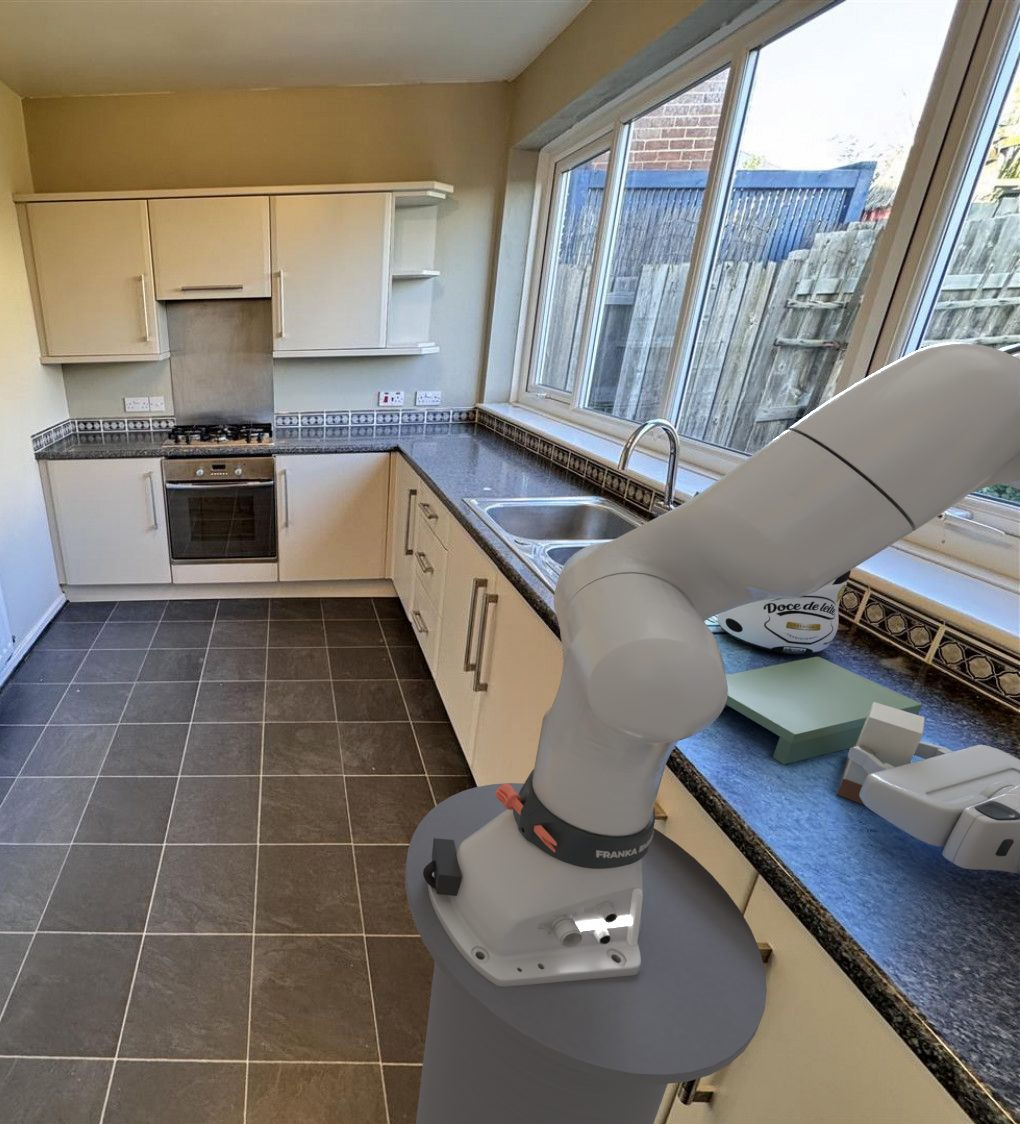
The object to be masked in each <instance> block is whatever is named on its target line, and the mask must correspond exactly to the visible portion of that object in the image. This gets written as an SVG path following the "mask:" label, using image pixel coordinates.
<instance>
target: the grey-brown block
mask: <svg viewBox="0 0 1020 1124" xmlns="http://www.w3.org/2000/svg"><path fill="white" fill-rule="evenodd" d="M925 721H926V717H925V716H922V715H919V714H918V715H915V714H912V713H909V712H906V711H902V710H899V709H896V708H892V707H889V706H886V705H882V704H879V703H876V702H873V704H872V706H871V709H870V711H869V714H868V716H867V719H866V721H865V724H864V726H863V728H862V731H861V733H860V736H859V738H858V741H857V743H856V744H853V745H852V747H855V746H860V745H863V746H865V747H866V748H868V749H871V750H872V751H874V752H876V755H875V757H876V758H877V759H878V760H879V761H880V762H882V763H883V764H884V763H888V764H890V765H892V766H894V767H898V766H902V765H906V764H909V763H912V760H913V758H914V756H915V755H914V753H915V751H916V749H917V746H918V744H919V742H920V741H921V739H922V738H923V736H924V729H925ZM852 747H851V748H852ZM842 771H843V772H842V775H841V778H840V781H839V784H838V789H837V792H836V795H837V796H840V797H843V798H845V799H847V800H849V801H853V802H855V803H857V804H861V805H863V806H865V807H867V806H866V805H865V804H864V803H863V801H862V800H861V798H860V796H859V794H860V791H861V788H862V785H863V783H864V781H865V779H866V777H867V776H868V774H867V772H866V771H865V770H864V769H863V768H862V766H860V765H859V764H857V763H855V762H853V761H852V760H850V759H849V758H848V756H847V758H846V761H845V765H844V767H843V770H842Z"/></svg>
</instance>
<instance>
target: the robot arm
mask: <svg viewBox="0 0 1020 1124" xmlns="http://www.w3.org/2000/svg"><path fill="white" fill-rule="evenodd" d="M1000 484H1006V485H1007V486H1009V487H1011V488H1014V489H1016V490H1018V491H1020V342H1017V343H1014V344H1011V345H1006V346H1003V347H1000V348H994V347H991V346H987V345H983V344H977V343H971V342H958V341H956V342H955V341H954V342H942V343H938V344H932V345H928V346H925V347H922V348H920V349H917V350H915V351H912V352H911V353H909V354H907V355H905V356H903V357H901V358H899V359H898V360H896V361H893V362H892V363H890V364H888V365H886V366H884V367H882V368H880V369H879V370H877V371H875V372H873V373H872V374H870V375H868V376H866V377H865V378H863V379H861V380H859V381H857V382H856V383H854V384H853V385H851V386H849V387H848V388H846V389H845V390H843V391H841V392H840V393H838V394H837V395H835V396H833V397H832V398H830V399H829V400H827V401H825V402H823V404H821V405H820V406H818V407H816V408H815V409H814V410H812V411H810V412H809V413H808V414H806V415H805V416H803V417H802V418H801V419H799V420H798V421H797V422H795V423H793V425H791V426H790V427H788V428H787V429H786V430H784V431H783V432H782V433H780V434H779V435H778V436H776V437H775V438H773V439H772V440H771V441H769V442H768V443H767V444H766V445H764V446H763V447H762V448H760V449H759V450H757V451H756V452H755V453H753V454H752V455H750V456H749V457H747V459H745V460H744V461H742V462H741V463H740V464H739V465H737V466H736V467H734V468H733V469H731V470H730V471H729V472H727V473H726V474H725V475H723V476H722V477H720V478H719V479H717V481H715V482H714V483H712V484H711V485H710V486H708V487H706V488H705V489H704V490H702V491H701V492H700V493H698V494H696V495H695V496H693V497H692V498H690V499H688V500H687V501H685V502H683V503H682V504H679V505H677V506H676V507H674V508H673V509H671V510H669V511H667V512H665V513H663V514H661V515H659V516H657V517H655V518H653V519H651V520H649V521H647V522H645V523H643V524H642V525H640V526H637V527H636V528H633V529H632V530H629V531H628V532H626V533H624V534H622V535H620V536H618V537H616V538H615V539H612V540H609V541H605V542H597V543H593V544H591V545H588V546H585V547H583V548H580V549H579V550H577V551H576V552H575V553H573V554H572V555H571V556H570V557H569V558H568V559H567V560H566V561H565V563H564V565H562V568H561V570H560V572H559V575H558V577H557V578H558V579H557V581H556V585H555V590H554V595H553V607H554V613H555V616H556V619H557V623H558V627H559V632H560V633H559V635H560V640H561V649H562V668H561V669H562V671H561V676H560V681H559V685H558V688H557V691H556V694H555V696H554V699H553V702H552V704H551V707H549V708H548V709H547V710H546V711H545V712H544V714H543V717H542V721H541V728H540V733H539V739H538V744H537V750H536V755H535V761H534V768H533V769H532V770H531V771H530V773H529V775H528V777H526V780H525V781H524V785H523V787H522V788H521V790H520V792H519V794H517V793H516V792H515V790H514V789H513V787H512V786H511V785H510V784H504V783H502V784H503V785H501V786H500V787H499V788H498V789H497V790H496V791H497V792H496V793H495V794H496V797H497V798H498V799H499V800H500V801H501V802H502V803H503V804H504V806H505V808H506V809H507V810H505V811H504V812H502V813H501V814H499V815H498V816H497V817H495V818H494V819H493V820H491V821H490V822H488V823H487V824H486V825H484V826H483V827H482V828H480V829H479V830H478V831H476V832H475V833H473V834H472V835H471V836H469V837H468V838H466V839H465V840H464V841H463V842H462V843H461V844H460V845H459V847H458V849H457V851H456V847H455V841H454V840H449V839H437V838H434V839H433V849H432V861H431V862H430V863H429V864H428V865H426V867H425V868H424V871H423V876H424V878H425V880H426V882H427V883H428V892H429V896H430V900H431V903H432V906H433V908H434V910H435V913H436V915H437V917H438V919H439V921H440V923H441V924H442V926H443V928H444V930H445V931H446V933H447V935H448V936H449V938H450V939H451V941H452V943H453V944H454V945H455V947H456V948H457V949H458V951H459V952H460V953H461V955H462V956H463V957H464V958H465V959H466V961H467V962H468V963H469V964H470V965H471V966H472V967H473V968H474V969H475V970H476V971H477V972H479V973H480V974H481V975H482V976H483V977H485V978H486V979H487V980H489V981H490V982H492V983H493V984H495V985H497V986H501V987H508V986H520V985H531V984H543V983H554V982H565V981H576V980H587V979H598V978H610V977H621V976H632V975H636V974H638V973H639V972H640V967H641V955H640V950H639V946H638V937H639V935H640V932H641V927H642V916H641V909H642V899H643V871H642V859H643V857H644V855H645V854H646V853H647V851H648V849H649V845H650V842H651V841H652V838H653V835H654V831H653V829H654V828H655V823H656V812H655V805H656V801H657V797H658V794H659V789H660V786H661V783H662V779H663V775H664V772H665V768H666V765H667V763H668V760H669V758H670V756H671V754H672V752H673V751H674V749H675V747H676V746H677V744H678V742H679V741H683V740H686V739H689V738H691V737H694V736H696V735H698V734H700V733H702V732H703V731H705V730H706V729H708V728H709V727H710V726H711V725H713V723H714V722H716V720H717V719H718V718H719V717H720V715H721V714H722V712H723V711H724V709H725V708H724V706H725V704H726V700H727V695H728V684H727V679H726V675H727V674H726V668H725V663H724V659H723V656H722V652H721V649H720V646H719V643H718V641H717V637H716V636H715V635H714V633H713V631H712V630H711V629H710V628H709V626H708V625H707V623H706V621H708V619H711V618H713V617H715V616H717V614H720V613H722V612H725V611H728V610H731V609H733V608H736V607H739V606H742V605H746V604H749V603H753V602H757V601H761V600H767V599H791V598H798V597H802V596H805V595H808V594H811V593H813V592H815V591H817V590H819V589H820V588H822V587H823V586H825V585H827V584H828V583H830V582H832V581H833V580H835V579H837V578H838V577H840V576H842V575H843V574H845V573H846V572H848V571H850V570H851V571H852V570H854V569H855V568H856V567H859V566H860V565H861V564H863V563H864V562H866V561H868V560H870V559H871V558H873V557H875V556H876V555H877V554H879V553H881V552H883V551H885V550H886V549H887V548H889V547H891V546H893V545H894V544H896V543H897V542H899V541H901V540H902V539H904V538H905V537H907V536H909V535H910V534H913V532H915V531H917V530H919V529H920V528H922V527H924V526H925V525H926V524H928V523H930V522H931V521H933V520H934V519H936V518H937V517H939V516H940V515H942V514H943V513H944V512H946V511H948V510H949V509H951V508H952V507H953V506H955V505H956V504H958V503H959V502H961V501H962V500H963V499H965V498H966V497H967V496H969V495H970V494H972V493H975V492H978V491H980V490H983V489H985V488H990V487H992V486H996V485H1000ZM875 755H876V752H874V751H872V750H871V749H868V748H866V747H865V746H863V745H860V746H855V747H852V748H849V749H848V753H847V757H848V758H849V759H850V760H852V761H853V762H855V763H857V764H859V765H860V766H862V768H863V769H864V770H865V771H866V772H867V774H868V776H867V777H866V779H865V781H864V783H863V785H862V788H861V791H860V794H859V796H860V798H861V800H862V801H863V803H864V804H865V805H866V806H865V805H864V806H865V807H866V808H868V809H869V810H870V811H872V812H873V813H875V814H876V815H878V816H879V817H881V818H882V819H884V820H885V821H886V822H888V823H890V824H891V825H893V826H894V827H896V828H897V829H900V830H901V831H903V832H905V833H906V834H908V835H909V836H911V837H913V838H915V839H916V840H918V841H920V842H922V843H925V844H927V845H929V846H933V847H937V848H943V849H942V853H941V856H943V857H944V858H945V859H946V860H947V861H949V862H950V863H952V864H954V865H955V866H956V867H958V868H962V869H965V870H981V871H982V870H984V871H997V872H1005V873H1010V874H1019V873H1020V758H1017V757H1015V756H1013V755H1011V754H1009V753H1008V752H1005V751H1003V750H1001V749H999V748H996V747H993V746H989V745H985V744H976V745H972V746H969V747H965V748H961V749H958V750H954V751H953V750H951V749H949V748H947V747H945V746H942V745H938V744H934V743H930V742H926V741H921V740H920V742H919V744H918V746H917V749H916V751H915V753H914V755H913V756H915V757H918V758H922V759H921V760H917V761H913V762H910V763H909V764H906V765H902V766H898V767H894V766H892V765H890V764H888V763H884V764H883V763H882V762H880V761H879V760H878V759H877V758H876V757H875ZM477 956H479V957H481V958H482V959H483V960H480V959H478V958H477ZM612 959H613V960H616V961H617V962H618V963H616V962H614V961H613V960H612Z"/></svg>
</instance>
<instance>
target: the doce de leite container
mask: <svg viewBox="0 0 1020 1124" xmlns="http://www.w3.org/2000/svg"><path fill="white" fill-rule="evenodd" d="M851 571H852V569H851V570H850V571H848V572H846V573H845V574H843V575H842V576H840V577H838V578H837V579H835V580H833V581H832V582H830V583H828V584H827V585H825V586H823V587H822V588H820V589H819V590H817V591H815V592H813V593H811V594H808V595H805V596H802V597H798V598H791V599H767V600H761V601H757V602H753V603H749V604H746V605H742V606H739V607H736V608H733V609H731V610H728V611H725V612H722V613H720V614H717V615H716V618H717V623H718V625H719V627H720V628H721V629H722V630H723V631H724V632H725V633H726V634H727V635H729V636H731V637H732V638H733V639H735V640H737V641H739V642H742V643H744V644H746V645H748V646H751V647H755V648H757V649H761V650H764V651H768V652H773V653H779V654H783V655H797V656H798V655H800V656H803V655H804V656H805V655H811V654H816V653H820V652H822V651H823V650H825V649H827V648H828V647H829V646H830V644H831V643H832V642H833V640H834V638H835V637H836V635H837V633H838V629H839V618H840V617H839V607H840V602H841V600H842V596H843V594H844V592H845V590H846V587H847V585H848V580H849V578H850V575H851Z"/></svg>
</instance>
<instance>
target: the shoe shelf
mask: <svg viewBox="0 0 1020 1124" xmlns="http://www.w3.org/2000/svg"><path fill="white" fill-rule="evenodd" d="M726 679H727V684H728V695H727V700H726V704H725V706H724V708H723V709H727V708H731V709H733V710H735V711H736V712H738V713H739V714H741V715H743V716H745V717H746V718H748V719H750V720H752V721H753V722H755V723H756V724H758V725H760V726H761V727H763V728H765V729H767V730H768V731H769V732H772V733H773V734H775V735H777V736H778V737H779V738H778V741H777V744H776V746H775V750H774V752H773V755H772V758H773V759H774V760H776V761H777V762H779V763H781V765H784V766H785V765H788V764H792V763H796V762H800V761H804V760H809V759H812V758H816V757H817V758H818V757H821V756H825V755H828V754H832V753H837V752H840V751H845V750H850V748H851V747H852V745H853V744H856V743H857V741H858V738H859V736H860V733H861V731H862V728H863V726H864V724H865V721H866V719H867V716H868V714H869V711H870V709H871V706H872V704H873V702H876V703H879V704H882V705H886V706H889V707H892V708H896V709H899V710H902V711H906V712H909V713H912V714H915V715H919V714H920V711H921V709H922V706H923V703H921V702H919V701H916V700H914V699H912V698H910V697H908V696H906V695H904V694H901V693H899V692H898V691H895V690H894V689H890V688H889V687H886V686H884V685H881V684H879V683H877V682H876V681H873V680H871V679H869V678H866V677H864V676H862V675H860V674H857V673H855V672H853V671H851V670H848V669H847V668H844V667H842V666H840V665H837V664H836V663H833V662H831V661H829V660H826V659H825V658H823V657H821V656H814V657H808V658H803V659H798V660H792V661H788V662H783V663H779V664H773V665H767V666H764V667H758V668H753V669H748V670H744V671H743V670H742V671H738V672H733V673H728V674H726Z"/></svg>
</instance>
